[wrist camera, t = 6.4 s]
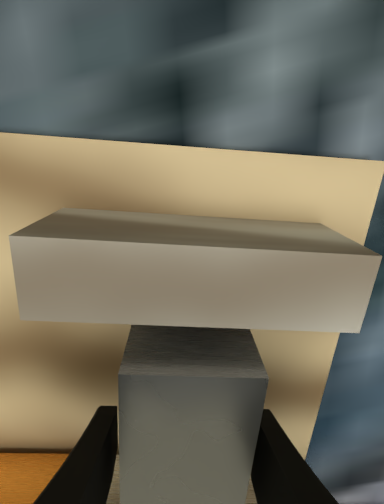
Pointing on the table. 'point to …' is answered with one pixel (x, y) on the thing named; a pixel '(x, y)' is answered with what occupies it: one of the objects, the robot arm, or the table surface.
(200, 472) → the steel block
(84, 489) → the robot arm
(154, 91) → the table surface
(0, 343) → the base
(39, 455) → the block
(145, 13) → the table surface
